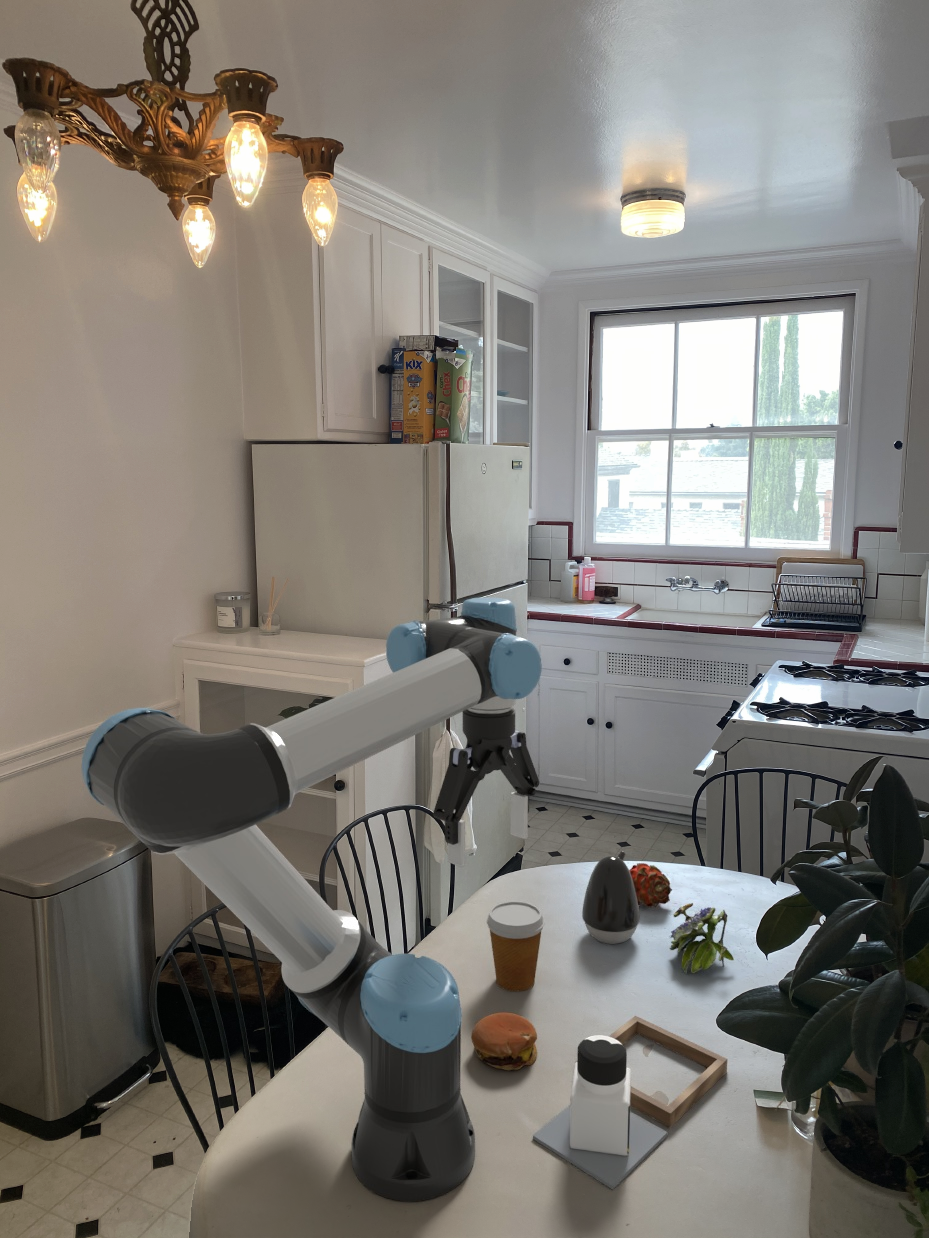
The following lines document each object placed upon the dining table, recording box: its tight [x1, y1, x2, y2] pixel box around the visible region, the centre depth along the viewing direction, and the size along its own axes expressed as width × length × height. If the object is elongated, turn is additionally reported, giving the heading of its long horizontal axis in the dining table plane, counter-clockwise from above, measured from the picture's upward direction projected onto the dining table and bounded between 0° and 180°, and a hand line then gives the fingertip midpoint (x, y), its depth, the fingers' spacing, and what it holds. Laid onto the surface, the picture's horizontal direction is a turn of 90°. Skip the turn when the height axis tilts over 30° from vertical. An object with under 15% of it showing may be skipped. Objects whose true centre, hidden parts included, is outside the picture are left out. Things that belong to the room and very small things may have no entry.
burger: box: [470, 1012, 538, 1071], centre depth 130 cm, size 10×9×5 cm
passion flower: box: [668, 902, 734, 974], centre depth 155 cm, size 11×11×12 cm
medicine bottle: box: [569, 1034, 632, 1156], centre depth 113 cm, size 7×7×12 cm
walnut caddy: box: [574, 1015, 728, 1128], centre depth 126 cm, size 15×15×2 cm
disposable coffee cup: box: [485, 900, 546, 992], centre depth 148 cm, size 10×10×12 cm
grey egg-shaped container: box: [581, 850, 641, 945], centre depth 162 cm, size 10×10×15 cm
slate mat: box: [532, 1104, 668, 1190], centre depth 114 cm, size 12×12×1 cm
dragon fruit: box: [629, 862, 673, 908], centre depth 176 cm, size 8×8×12 cm
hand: (488, 849), depth 131 cm, fingers open, 13 cm apart
